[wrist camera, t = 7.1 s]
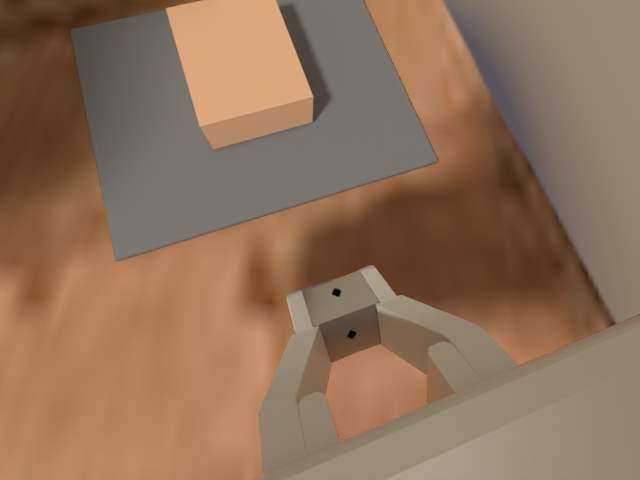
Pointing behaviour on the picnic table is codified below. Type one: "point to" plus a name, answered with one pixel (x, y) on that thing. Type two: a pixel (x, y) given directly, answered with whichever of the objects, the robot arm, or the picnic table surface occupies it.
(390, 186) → the picnic table surface
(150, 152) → the mat
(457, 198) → the picnic table surface
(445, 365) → the robot arm
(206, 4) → the light orange block
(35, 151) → the picnic table surface
